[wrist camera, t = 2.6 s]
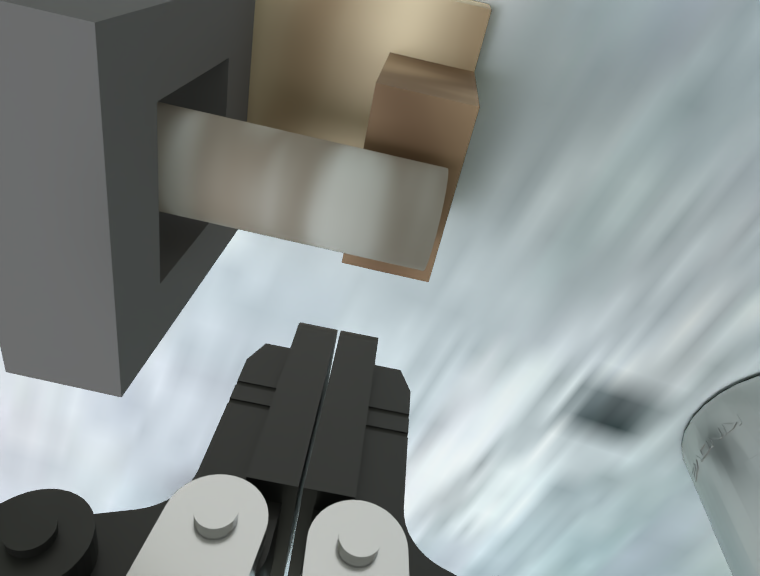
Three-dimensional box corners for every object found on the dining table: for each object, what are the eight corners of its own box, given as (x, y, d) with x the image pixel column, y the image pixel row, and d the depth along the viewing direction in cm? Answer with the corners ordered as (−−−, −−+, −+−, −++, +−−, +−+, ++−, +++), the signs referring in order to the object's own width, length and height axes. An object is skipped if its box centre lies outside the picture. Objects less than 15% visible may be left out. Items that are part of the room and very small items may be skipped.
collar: (256, -24, 18) (94, 22, 10) (239, 226, 23) (121, 397, 15) (163, -46, 18) (-79, -18, 10) (165, 210, 23) (5, 371, 15)
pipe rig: (489, 4, 20) (512, 54, 12) (422, 248, 26) (409, 387, 18) (-193, -157, 20) (-602, -207, 12) (-113, 126, 25) (-360, 216, 17)
